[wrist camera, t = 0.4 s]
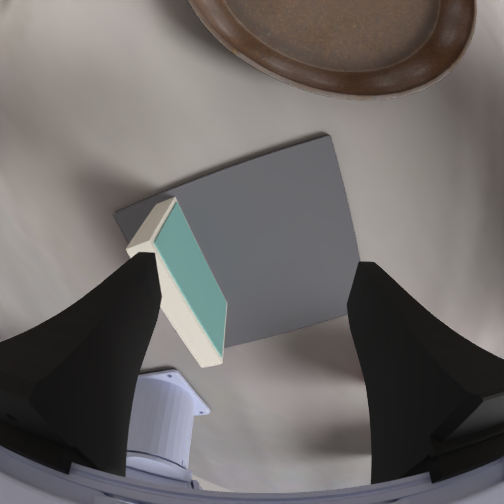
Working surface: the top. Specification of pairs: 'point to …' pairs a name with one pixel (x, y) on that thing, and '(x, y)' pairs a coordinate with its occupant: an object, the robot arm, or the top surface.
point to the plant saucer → (345, 41)
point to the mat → (270, 238)
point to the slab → (184, 281)
